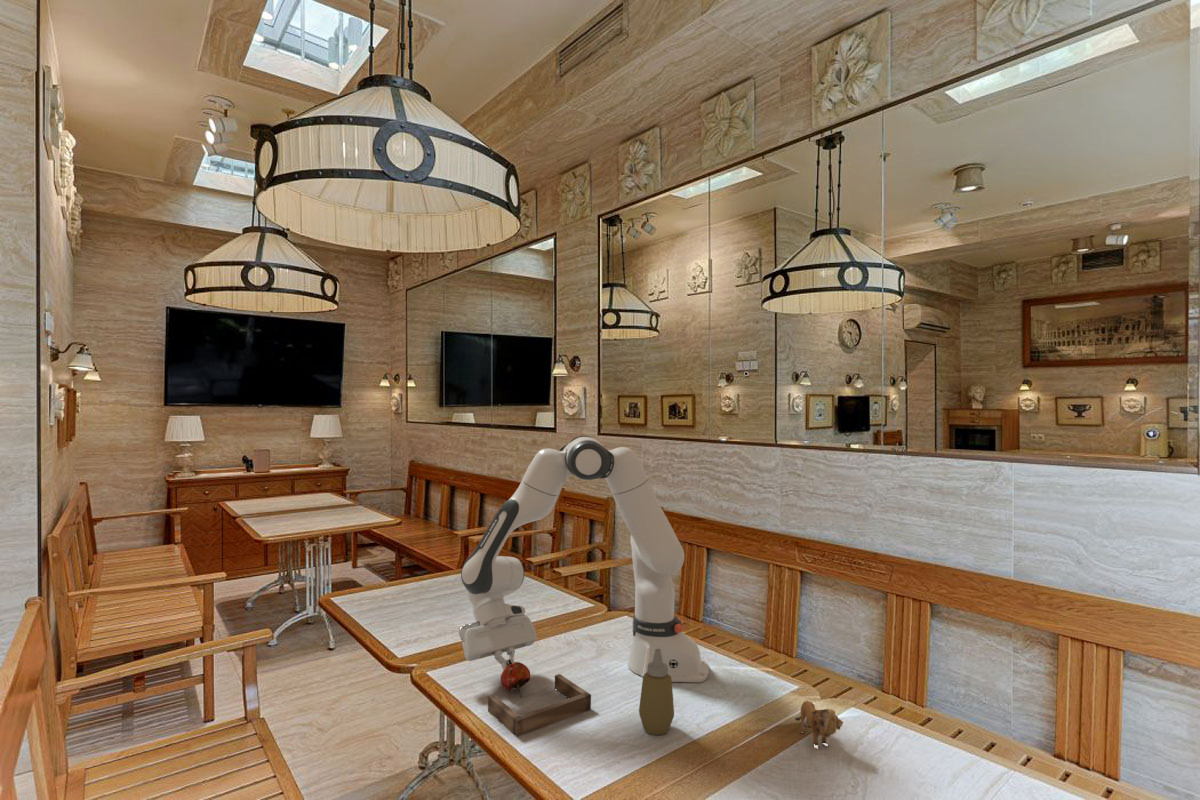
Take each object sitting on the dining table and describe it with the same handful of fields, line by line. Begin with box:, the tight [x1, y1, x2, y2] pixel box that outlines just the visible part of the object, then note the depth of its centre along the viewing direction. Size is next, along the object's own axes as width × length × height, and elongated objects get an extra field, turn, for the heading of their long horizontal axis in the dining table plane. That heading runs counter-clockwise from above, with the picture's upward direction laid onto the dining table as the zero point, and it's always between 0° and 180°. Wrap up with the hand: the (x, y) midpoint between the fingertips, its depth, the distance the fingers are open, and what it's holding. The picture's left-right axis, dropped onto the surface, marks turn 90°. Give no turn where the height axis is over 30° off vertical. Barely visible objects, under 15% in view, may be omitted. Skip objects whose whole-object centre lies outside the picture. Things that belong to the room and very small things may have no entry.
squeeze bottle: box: [638, 649, 675, 736], centre depth 137 cm, size 8×8×18 cm
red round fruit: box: [500, 658, 531, 698], centre depth 153 cm, size 7×7×10 cm
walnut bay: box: [487, 673, 592, 737], centre depth 144 cm, size 14×20×4 cm, turn 128°
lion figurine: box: [794, 700, 844, 745], centre depth 135 cm, size 15×5×9 cm, turn 16°
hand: (509, 667), depth 156 cm, fingers closed, pressing on red round fruit
